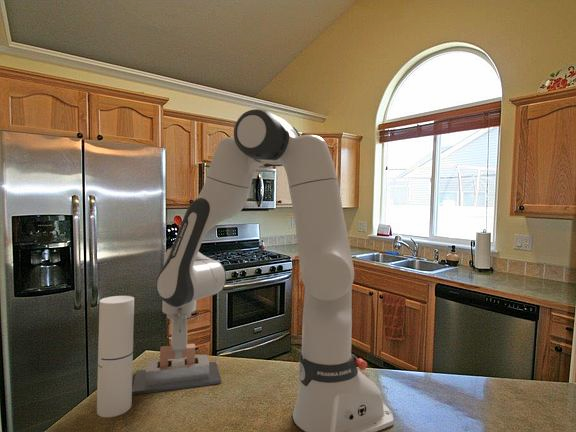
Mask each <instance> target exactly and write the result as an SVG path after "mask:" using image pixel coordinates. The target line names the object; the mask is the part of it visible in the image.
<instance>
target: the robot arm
mask: <svg viewBox="0 0 576 432" xmlns="http://www.w3.org/2000/svg"><path fill="white" fill-rule="evenodd" d="M300 134H301V133H299V131H298V129H296V128H295V127H294V126H293V125H291V124H289V122H287V121H286V120H285V119H284V118H282V117H280V116H278V115H276V114H274V113H272V112H270V111H268V110H266V109H258V108H257V109H251V110H247V111H246V112H244V113H243V114H241V115H240V116H238V118H237V121H236V122H235V125H234V128H233V136H228V137H225V138H223V139H221V140H220V141H219V143H218V144H217V147H216V149H215V151H214V153H213V156H212V158H211V162H210V164H209V167H208V171H207V175H206V178H205V182H204V184H203V186H202V189H201V191H200V192H199V194H198V195H197V197H196V198H195V200H194V201H192V202H191V203H190V205H189V206H188V207H187V210H186V212H185V214H184V216H183V218H182V221H181V224H180V226H179V229H178V231H177V233H176V237H175V238H174V242H173V244H172V246H171V247H169V248H168V249H167V250H166V252H165V254H164V260H163V266H162V267H161V269H160V271H159V273H158V275H157V278H156V282H155V283H156V285H155V286H156V287H155V288H156V292H157V295H158V296H159V297H160V299H161V300H162V301H161V302H162V309H161V311H162V313H163V314H165V315H166V318H167V319H168V320H170V322H171V346H172V351H175V359H181V358H182V350H186V348H187V344H188V318H191V317H192V313H194V312H196V310H197V301H198V300H201V299H204V298H207V297H210V296H211V297H212V296H214V295H216V294H219V293H221V292H222V291H223V289H224V288H225V285H226V283H227V282H226V281H227V272H226V270H225V267H224V266H223V264H222V263H221V262H220V261H218V260H216V259H213V258H210V257H209V256H206V255H204V254H203V253H201V252H200V251H199V250H200V248H201V245H202V242H203V240H204V238H205V236H206V235H207V233H208V232H209V231H210V230H211V229H212V228H214V227H215V226H216V225H218V224H220V223H222V222H224V221H226V220H228V219H231V218H233V217H234V216H237V215H238V214H239V213H240V212H241V211H242V210H243V209H244V206H245V205H246V203H247V201H248V198H249V195H250V190H251V186H252V182H253V180H254V176H255V173H256V171H257V169H258V168H260V167H262V166H264V167H283V168H284V171H285V173H286V177H287V183H288V188H289V194H290V202H291V206H292V207H291V208H292V212H293V217H294V223H295V234H296V245H297V254H298V260H299V261H298V262H299V263H298V264H299V267H300V268H299V269H300V275H301V276H300V277H301V281H302V283H303V286H304V295H303V296H304V298H303V311H302V322H301V323H302V325H301V327H302V330H301V333H302V334H301V351H300V352H299V359H298V360H299V363H298V378H299V386H298V392H297V398H296V402H295V405H294V409H293V412H292V418H293V422H294V423H295V424H296V426H297V427H298V428H299V429H301V430H302V431H304V432H379V431H381V430H383V429H386V428H389V427H391V426H393V425H394V423H395V421H394V419H395V418H394V415H393V413H392V411H391V410H390V409H389V407H388V406H387V405H386V404H385V402H383V400H384V399H383V396H382V394H381V391H380V389H379V387H378V386H377V385H376V384H375V383H374V382H373V381H372V380H371V379H369V378H368V377H367V376H366V375H365V374H364V373H362V372H361V371H365V370H366V368H368V362H367V361H366V360H363V359H362V358H361V357H359V358H358V356H356V355H355V354H353V353H352V327H353V309H352V307H353V305H352V303H353V301H352V300H353V299H352V298H353V296H352V293H353V290H352V289H353V286H352V285H353V283H354V280H355V267H354V262H353V256H352V255H353V254H352V251H351V246H350V241H349V236H348V230H347V225H346V220H345V215H344V208H343V205H342V204H343V203H342V198H341V193H340V187H339V182H338V176H337V172H336V167H335V163H334V160H333V158H332V154H331V151H330V149H329V146H328V144H327V141H326V139H324V138H322V137H321V136H319V135H315V134H304V135H300Z"/></svg>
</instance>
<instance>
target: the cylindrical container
mask: <svg viewBox="0 0 576 432" xmlns="http://www.w3.org/2000/svg"><path fill="white" fill-rule="evenodd" d="M98 305H99V308H98V309H99V311H98V312H99V314H98V343H97V344H98V349H97V382H96V383H97V384H96V385H97V388H96V389H97V390H96V391H97V392H96V414H97V416H99V417H100V418H114V417H118V416H121V415H123V414H125V413H126V412H128V411H129V410H131V408H132V405H133V404H132V401H133V395H132V387H133V364H134V363H133V362H134V328H135V327H134V326H135V325H134V324H135V323H134V322H135V297H134V296H131V295H114V296H108V297H107V296H106V297H103V298H101V299H100V300H99V304H98Z"/></svg>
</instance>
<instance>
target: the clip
mask: <svg viewBox="0 0 576 432" xmlns="http://www.w3.org/2000/svg"><path fill="white" fill-rule="evenodd" d="M159 351H160V353H159V359H160V368H162V367H168V359H175V351H172V345H165V346H160V350H159ZM195 356H196V344H195V343H187V348H186V350H182V358H187V365H189V364H195Z"/></svg>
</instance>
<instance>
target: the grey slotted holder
mask: <svg viewBox="0 0 576 432" xmlns="http://www.w3.org/2000/svg"><path fill="white" fill-rule="evenodd" d="M220 374H221V373H220V370H219V367H218V364H217V361H213V362H212V361H211V362H210V361H209V357H208V354H200V355H195V364H189V365H187V358H181V359H168V367H162V368H160V358H159V359H152V360H149V359H148V360H147V362H146V368H145V369H139V370H136V371H135V376H134V379H133V382H132V396H136V395H137V396H138V395H143V394H151V393H158V392H167V391H174V390H182V389H187V388H188V389H189V388H196V387H203V386H204V387H205V386H211V385H212V386H213V385H218V384H219V385H220V384H222V377H221V375H220Z"/></svg>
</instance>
